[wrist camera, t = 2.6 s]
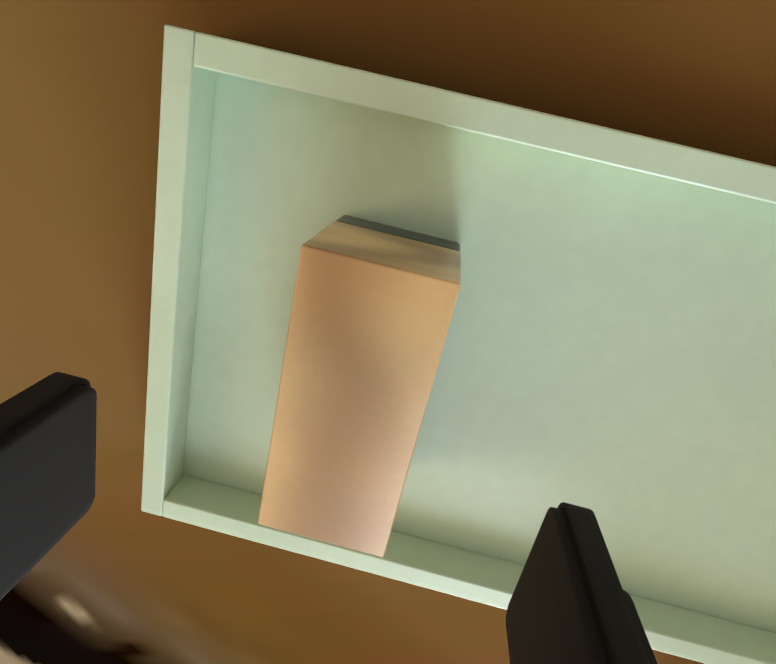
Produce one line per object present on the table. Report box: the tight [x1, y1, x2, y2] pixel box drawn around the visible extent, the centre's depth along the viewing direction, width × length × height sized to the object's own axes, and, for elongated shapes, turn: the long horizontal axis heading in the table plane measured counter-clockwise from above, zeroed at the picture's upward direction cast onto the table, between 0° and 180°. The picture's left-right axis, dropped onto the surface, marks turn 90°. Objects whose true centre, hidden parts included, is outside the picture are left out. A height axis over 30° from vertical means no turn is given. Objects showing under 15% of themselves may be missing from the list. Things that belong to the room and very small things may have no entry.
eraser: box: [258, 215, 461, 557], centre depth 15 cm, size 4×8×4 cm, turn 167°
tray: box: [141, 25, 776, 664], centre depth 17 cm, size 26×16×2 cm, turn 77°
